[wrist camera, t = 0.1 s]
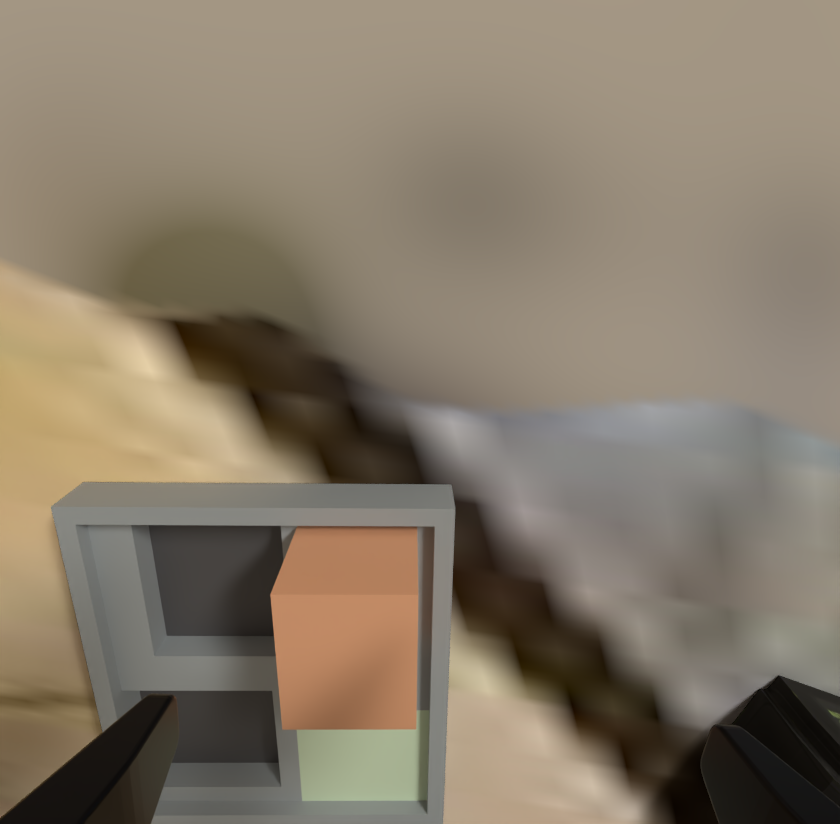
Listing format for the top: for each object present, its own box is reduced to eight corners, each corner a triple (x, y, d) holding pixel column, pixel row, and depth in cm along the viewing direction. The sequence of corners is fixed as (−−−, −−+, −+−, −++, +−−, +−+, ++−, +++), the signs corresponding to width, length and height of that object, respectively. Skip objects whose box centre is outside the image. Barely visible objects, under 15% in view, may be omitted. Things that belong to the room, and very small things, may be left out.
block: (415, 642, 24) (416, 729, 20) (305, 642, 24) (282, 729, 20) (417, 526, 22) (418, 595, 18) (297, 525, 22) (270, 594, 18)
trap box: (440, 783, 29) (442, 825, 27) (145, 784, 29) (124, 827, 27) (451, 484, 23) (455, 509, 21) (83, 482, 23) (50, 506, 21)
